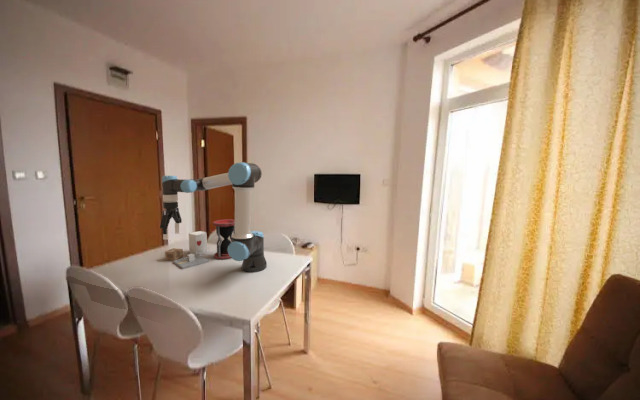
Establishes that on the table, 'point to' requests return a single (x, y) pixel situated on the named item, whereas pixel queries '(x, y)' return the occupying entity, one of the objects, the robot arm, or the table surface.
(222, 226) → the hourglass
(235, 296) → the table surface
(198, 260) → the plate
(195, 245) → the supplement box
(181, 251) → the brown cardboard crate
